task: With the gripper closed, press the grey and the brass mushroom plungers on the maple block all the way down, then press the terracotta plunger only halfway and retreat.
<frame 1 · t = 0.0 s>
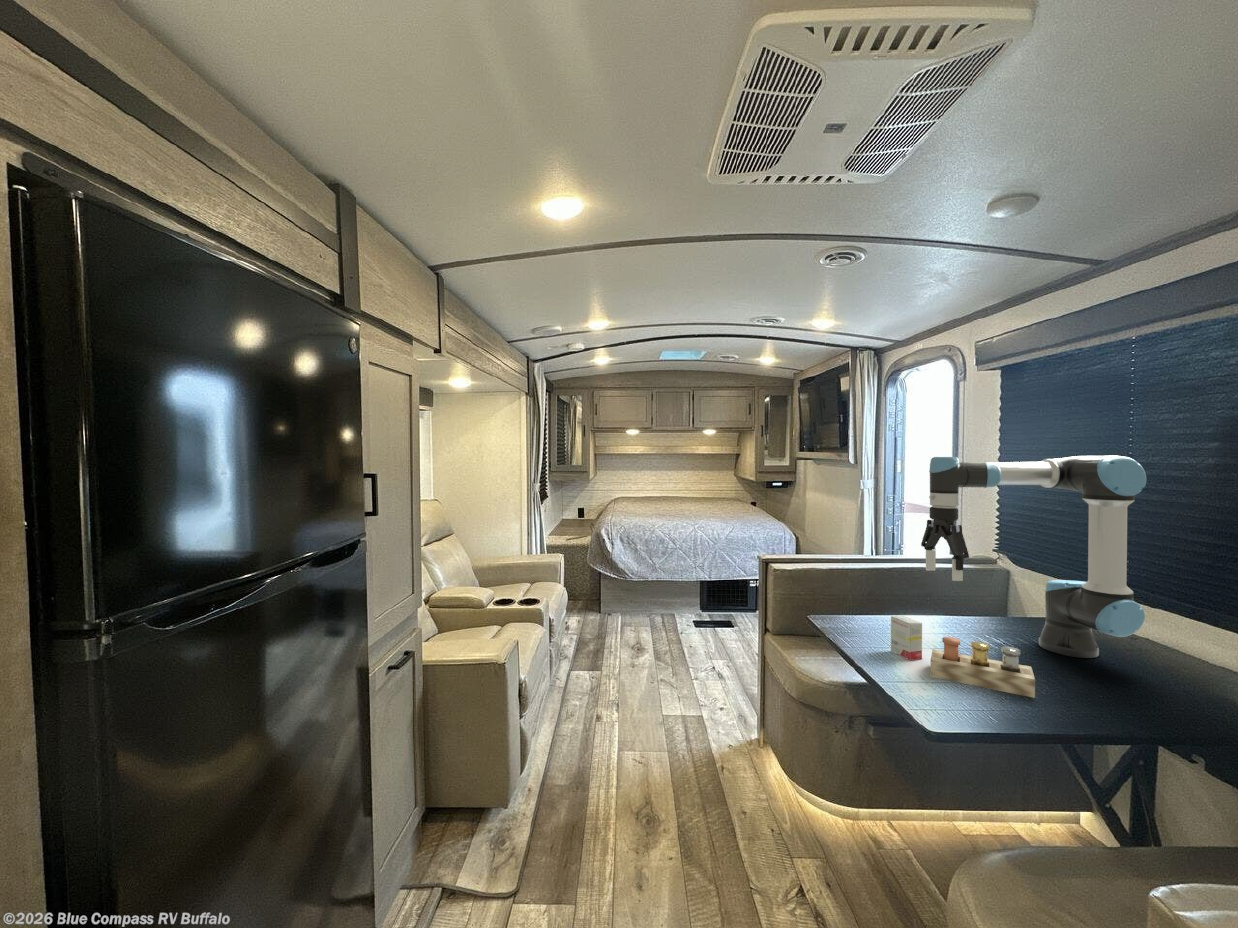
hand: (943, 575, 159), 28 cm above the table, fingers open, 13 cm apart
plunger block: (979, 680, 149), on the table
plunger terracotta: (951, 650, 153), point 7 cm above the table, slide at 0.0 cm
ink box: (906, 655, 168), on the table
plunger brass: (980, 655, 149), point 7 cm above the table, slide at 0.0 cm
plunger grey: (1010, 660, 145), point 7 cm above the table, slide at 0.0 cm
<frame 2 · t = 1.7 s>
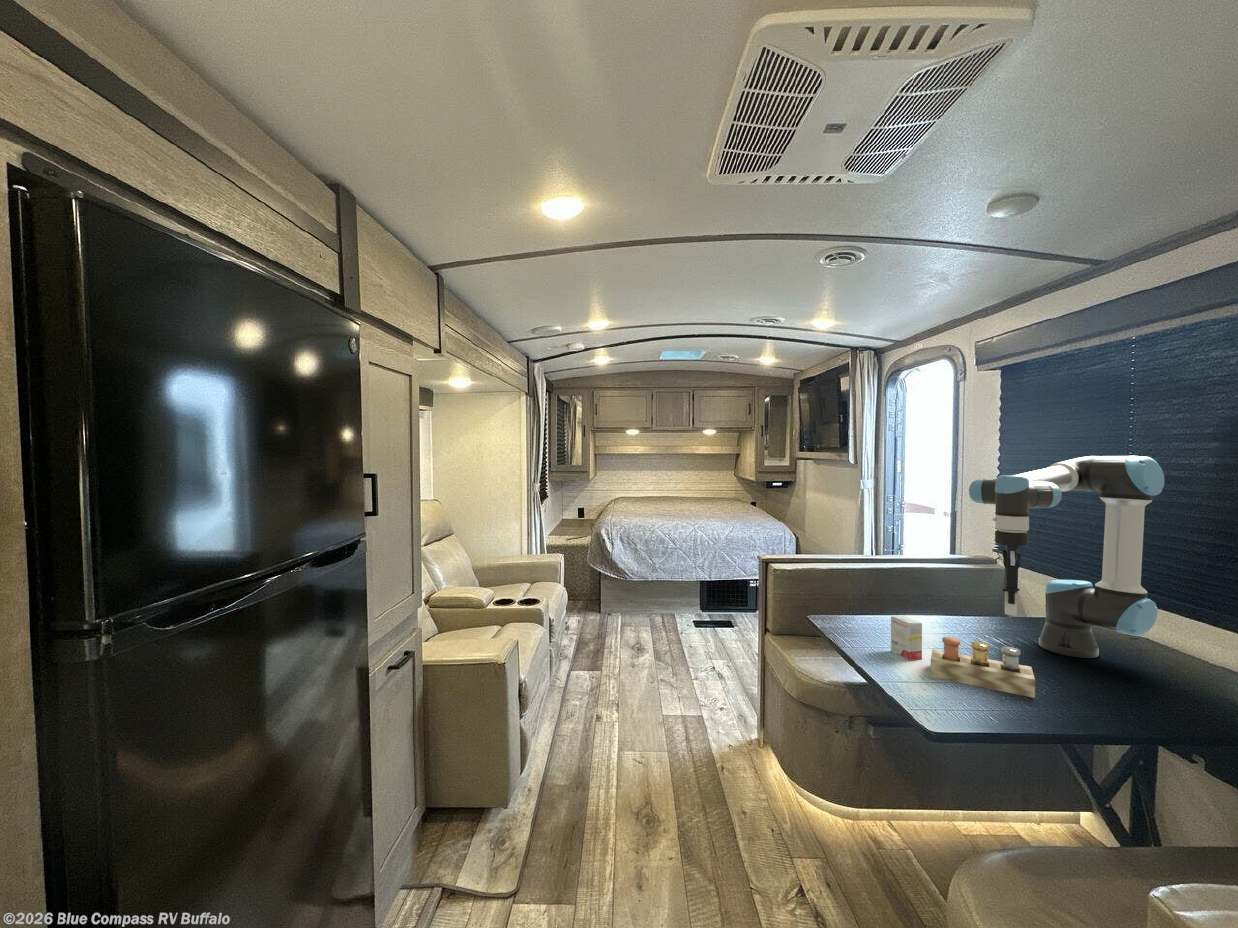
hand: (1010, 614, 145), 20 cm above the table, fingers closed
nothing on the table moved.
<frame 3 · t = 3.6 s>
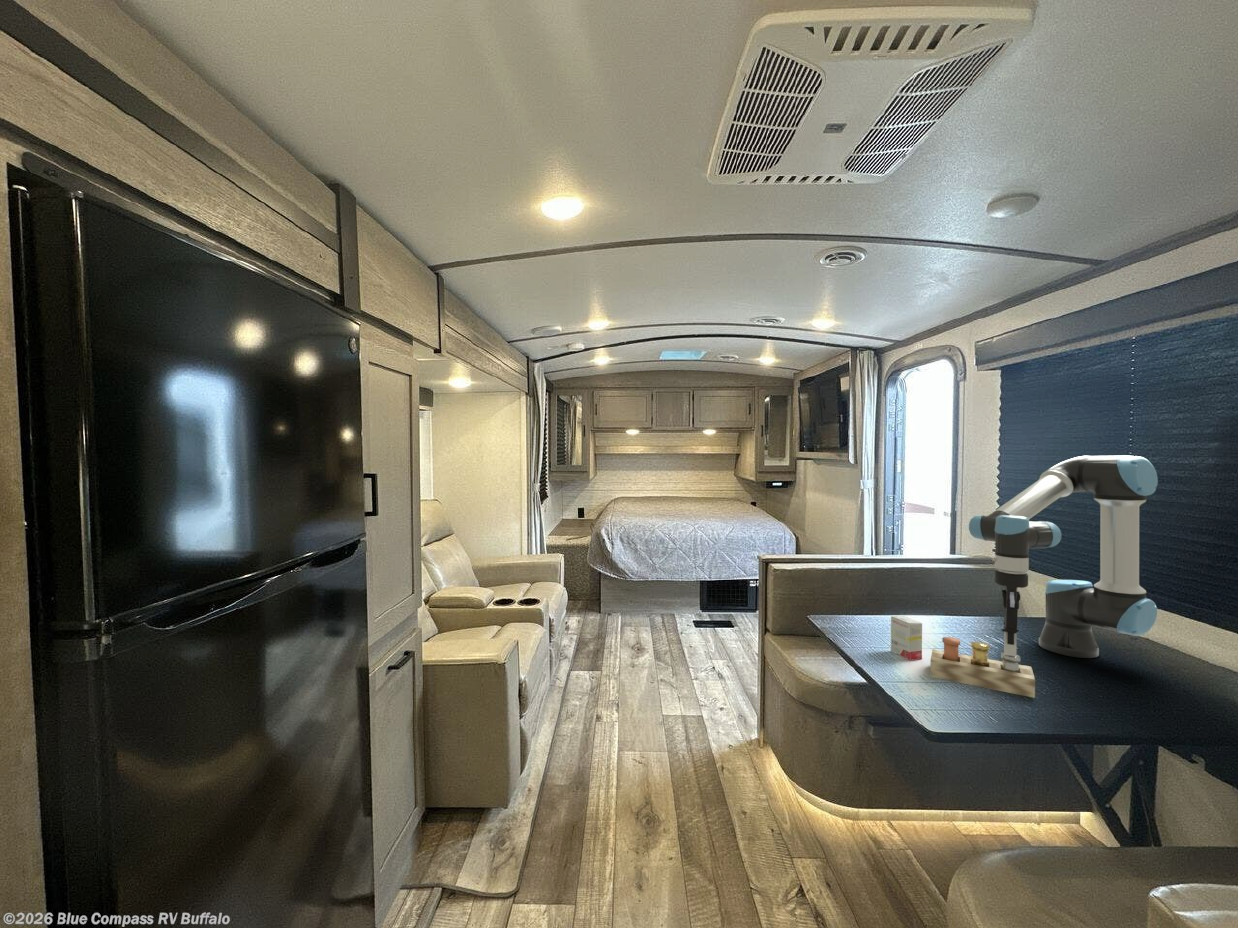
hand: (1010, 654, 145), 9 cm above the table, fingers closed
plunger grey: (1010, 666, 145), point 6 cm above the table, slide at 1.7 cm, touching gripper
everything else where it was.
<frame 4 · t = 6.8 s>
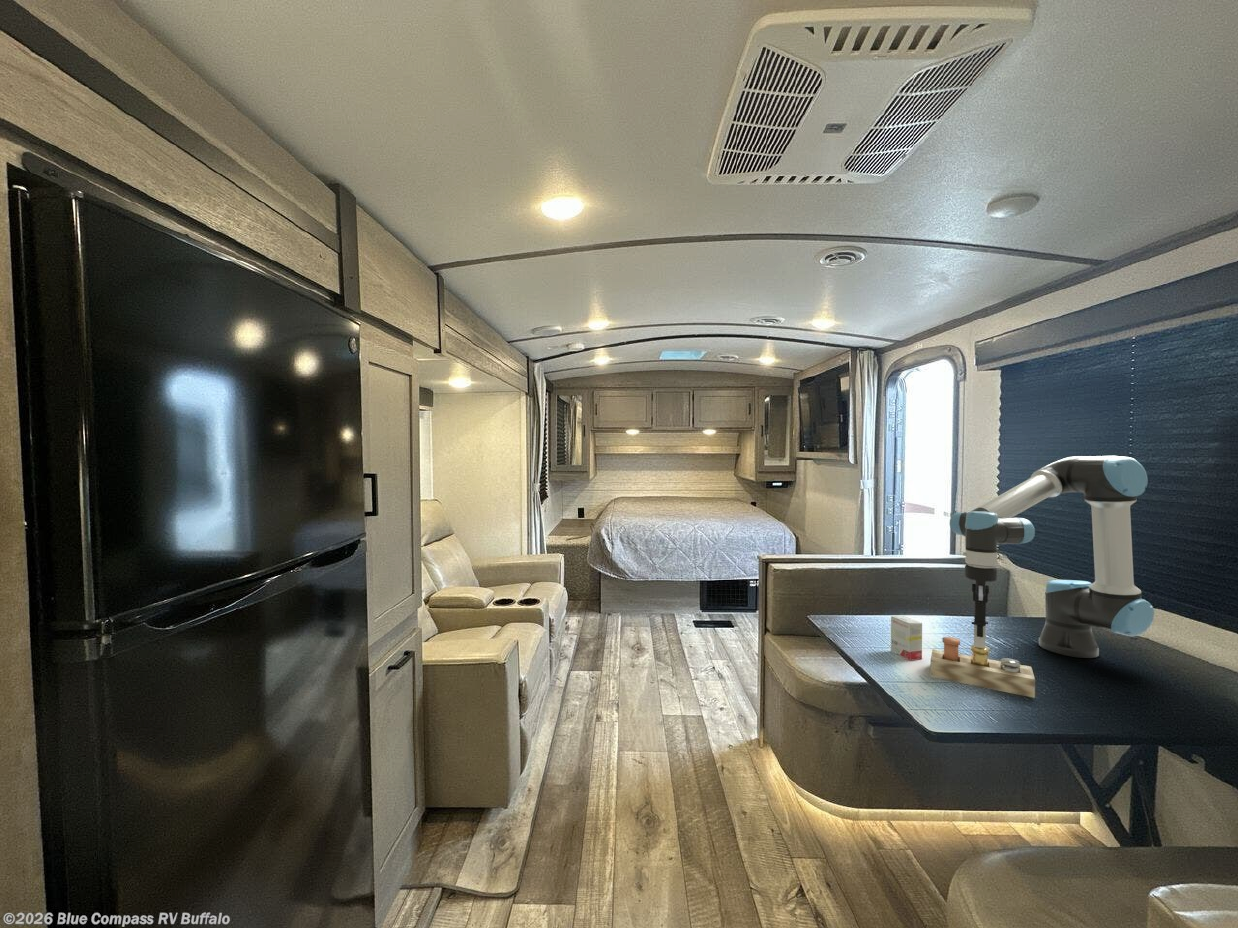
hand: (979, 646, 149), 10 cm above the table, fingers closed
plunger brass: (980, 658, 149), point 6 cm above the table, slide at 1.0 cm, touching gripper
plunger grey: (1010, 672, 145), point 4 cm above the table, slide at 3.3 cm
everything else where it was.
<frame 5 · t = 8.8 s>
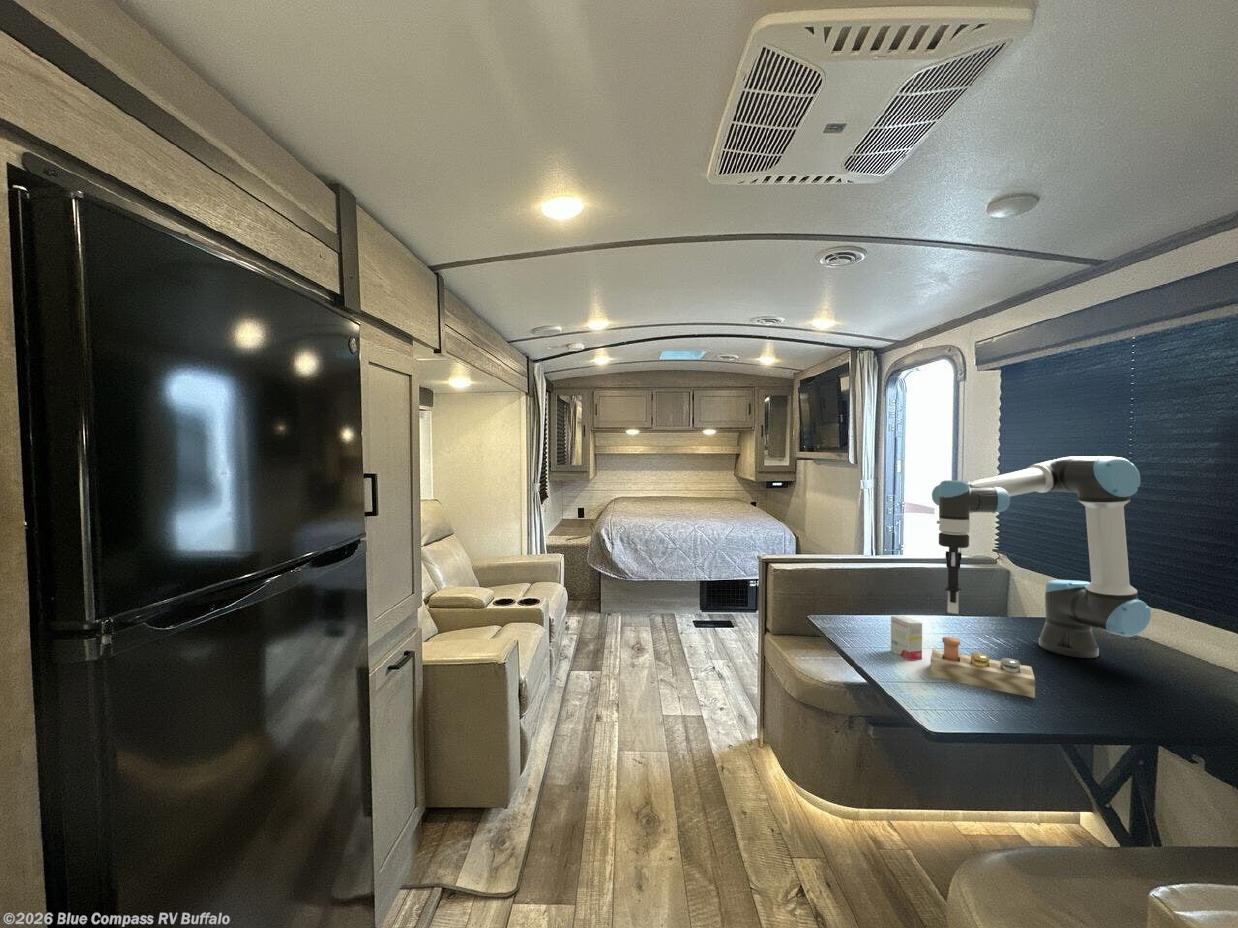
hand: (952, 612, 152), 19 cm above the table, fingers closed
plunger brass: (980, 666, 149), point 4 cm above the table, slide at 3.3 cm
everything else where it was.
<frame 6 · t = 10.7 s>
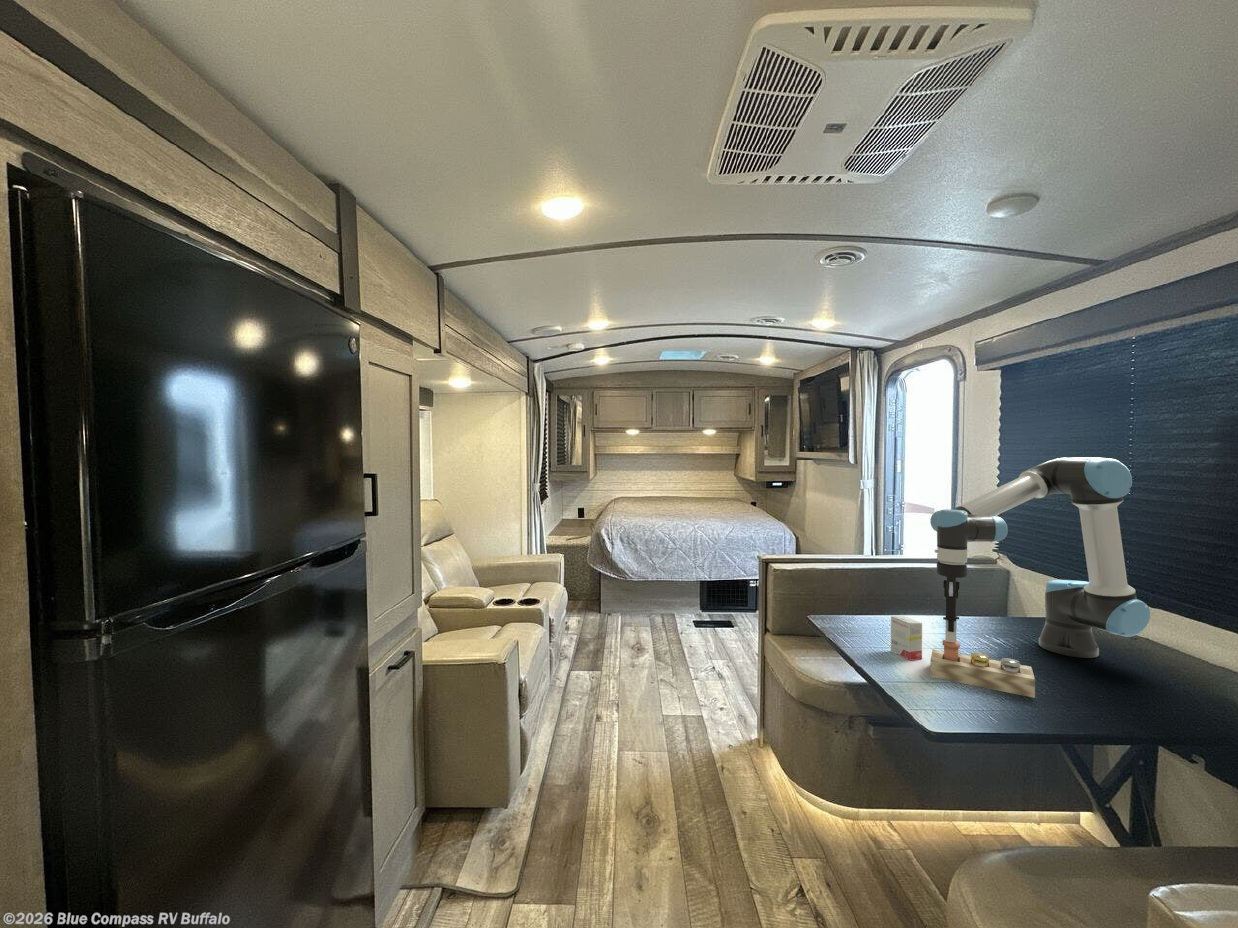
hand: (950, 641, 153), 10 cm above the table, fingers closed
plunger terracotta: (951, 653, 153), point 6 cm above the table, slide at 0.8 cm, touching gripper
everything else where it was.
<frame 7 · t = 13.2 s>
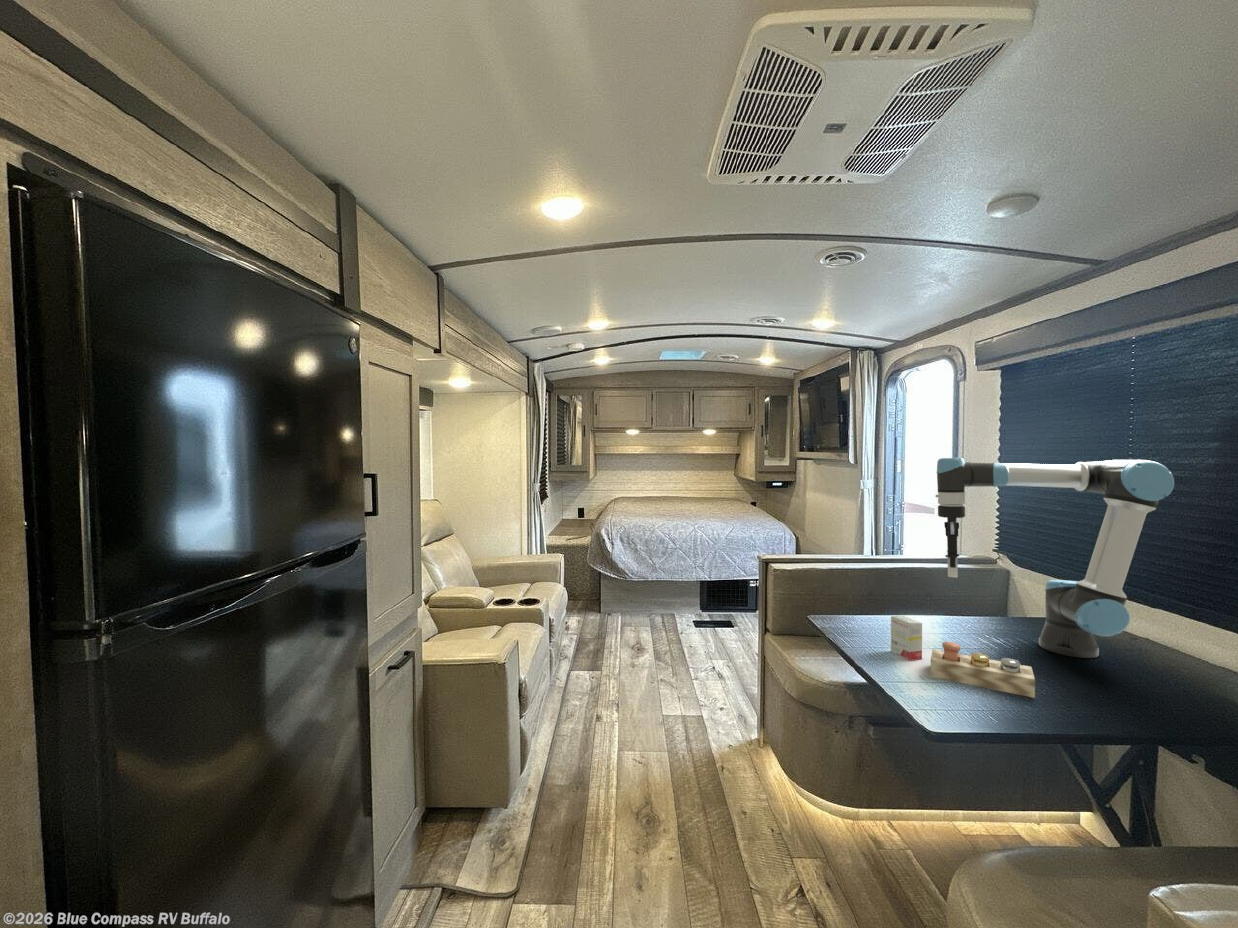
hand: (952, 576, 169), 25 cm above the table, fingers closed
plunger terracotta: (951, 655, 153), point 6 cm above the table, slide at 1.5 cm
everything else where it was.
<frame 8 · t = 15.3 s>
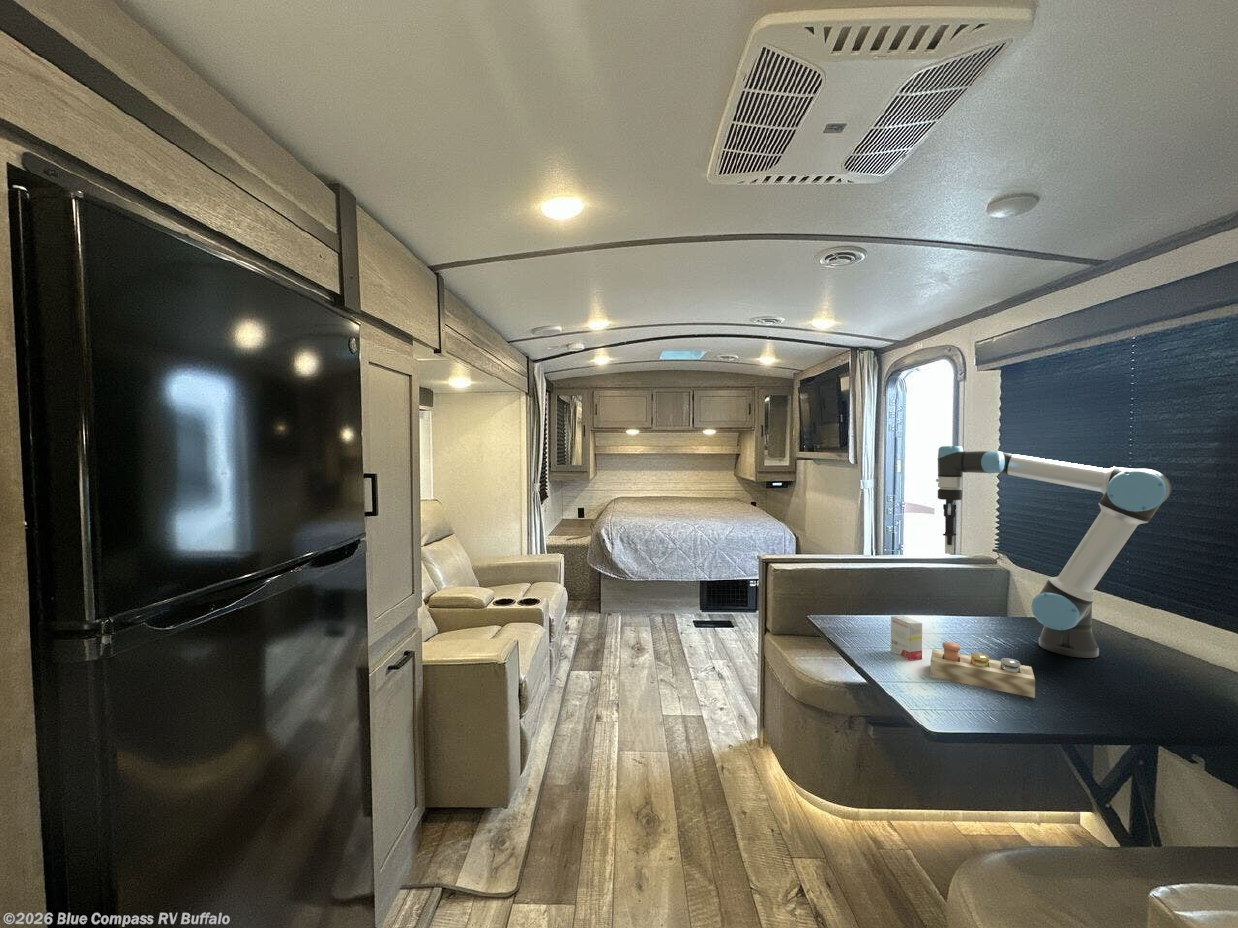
hand: (949, 553, 187), 29 cm above the table, fingers closed
nothing on the table moved.
at the end: plunger grey slide at 3.3 cm; plunger brass slide at 3.3 cm; plunger terracotta slide at 1.5 cm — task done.
